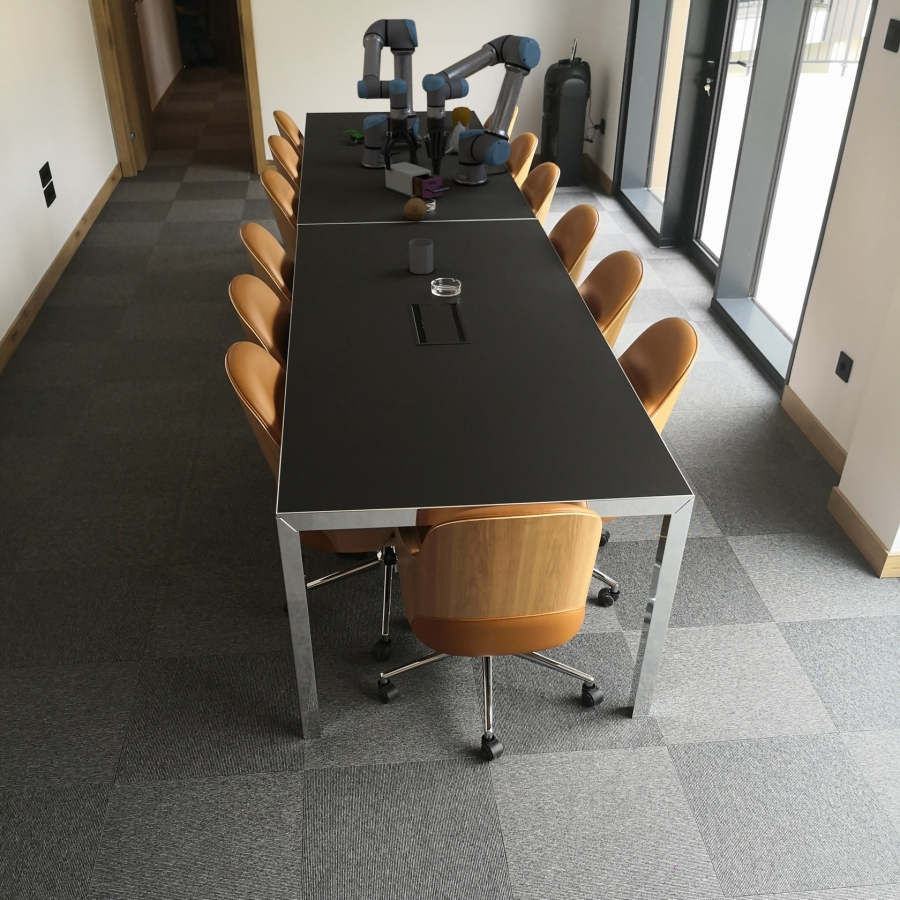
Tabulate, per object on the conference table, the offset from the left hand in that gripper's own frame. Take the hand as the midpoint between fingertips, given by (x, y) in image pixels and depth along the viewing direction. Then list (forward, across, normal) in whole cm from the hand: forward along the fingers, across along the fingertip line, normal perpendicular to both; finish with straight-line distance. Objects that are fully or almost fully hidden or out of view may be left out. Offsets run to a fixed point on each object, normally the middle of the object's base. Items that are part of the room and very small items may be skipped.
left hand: (400, 167), depth 390 cm
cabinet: (+9, 0, -6) cm, 11 cm away
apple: (+11, +94, +69) cm, 117 cm away
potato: (+8, -23, -41) cm, 48 cm away
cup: (+7, -56, -88) cm, 104 cm away
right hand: (-3, 0, -26) cm, 26 cm away
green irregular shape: (+11, +37, +79) cm, 88 cm away
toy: (+10, +55, +30) cm, 64 cm away
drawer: (+8, 0, -18) cm, 20 cm away
